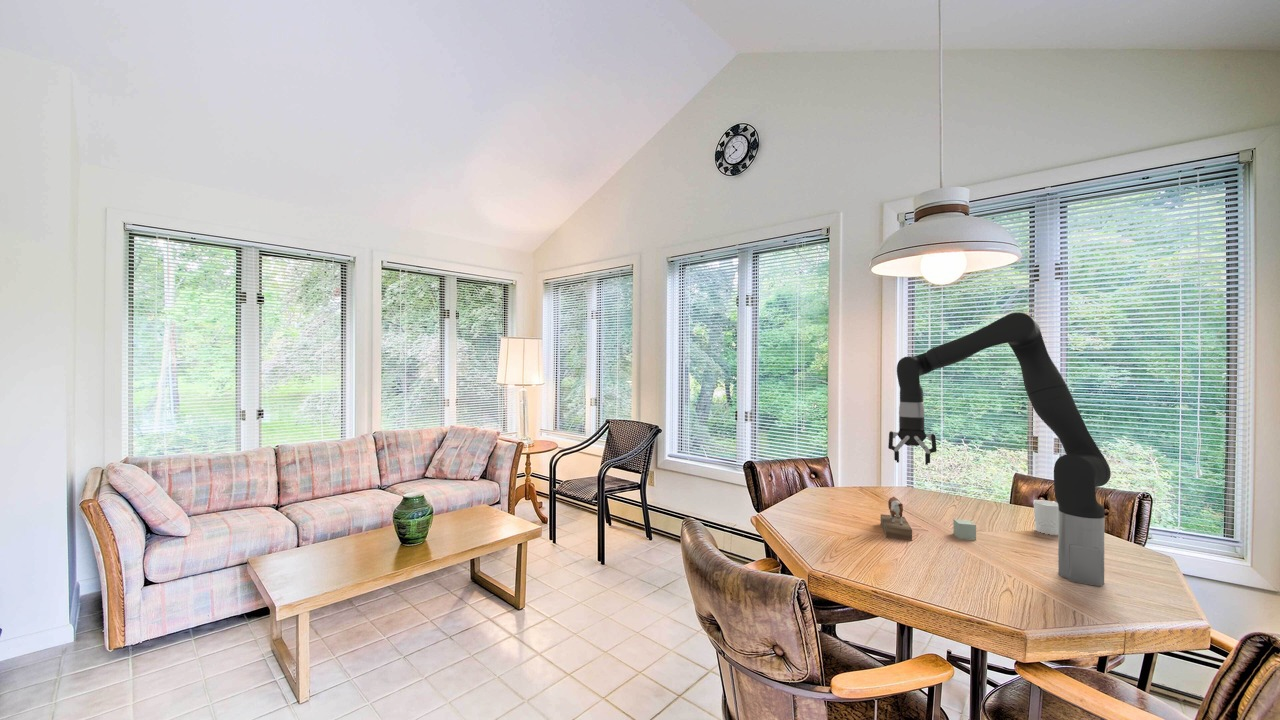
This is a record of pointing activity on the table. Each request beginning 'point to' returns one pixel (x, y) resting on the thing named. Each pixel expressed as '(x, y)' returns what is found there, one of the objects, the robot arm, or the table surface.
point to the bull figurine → (895, 509)
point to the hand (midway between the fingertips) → (912, 463)
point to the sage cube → (964, 529)
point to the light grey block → (1046, 516)
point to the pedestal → (896, 528)
